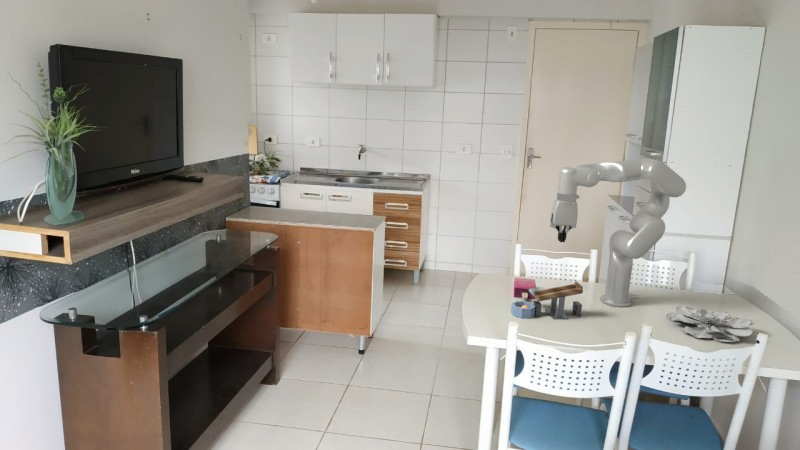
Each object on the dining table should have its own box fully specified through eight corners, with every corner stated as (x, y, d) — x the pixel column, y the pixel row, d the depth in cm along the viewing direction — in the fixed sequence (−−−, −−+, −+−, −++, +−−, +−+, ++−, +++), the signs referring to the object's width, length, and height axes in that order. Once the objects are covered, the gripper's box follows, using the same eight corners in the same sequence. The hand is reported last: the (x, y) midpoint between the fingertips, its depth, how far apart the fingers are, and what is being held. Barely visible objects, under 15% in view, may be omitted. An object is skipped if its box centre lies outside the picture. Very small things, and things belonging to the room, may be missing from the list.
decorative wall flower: (705, 296, 244) (775, 322, 217) (703, 312, 245) (772, 339, 218) (652, 303, 232) (719, 332, 205) (650, 320, 233) (715, 350, 206)
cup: (529, 310, 236) (530, 301, 235) (536, 318, 227) (537, 308, 226) (509, 310, 235) (509, 300, 234) (515, 318, 226) (516, 308, 225)
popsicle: (514, 291, 244) (514, 277, 264) (513, 302, 245) (513, 287, 265) (537, 293, 243) (534, 279, 262) (535, 304, 244) (533, 289, 263)
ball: (527, 303, 232) (519, 304, 232) (529, 306, 229) (521, 307, 229) (527, 310, 233) (520, 312, 232) (530, 313, 230) (522, 315, 229)
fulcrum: (573, 310, 238) (576, 289, 236) (583, 319, 229) (586, 297, 227) (530, 309, 236) (532, 288, 234) (538, 319, 227) (540, 297, 225)
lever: (570, 283, 241) (570, 276, 240) (583, 294, 228) (582, 286, 227) (528, 291, 240) (528, 283, 239) (539, 302, 227) (538, 294, 226)
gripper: (580, 196, 240) (575, 239, 244) (545, 195, 238) (541, 238, 242) (587, 200, 232) (582, 244, 237) (551, 199, 231) (547, 243, 235)
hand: (561, 241), depth 239 cm, fingers closed
